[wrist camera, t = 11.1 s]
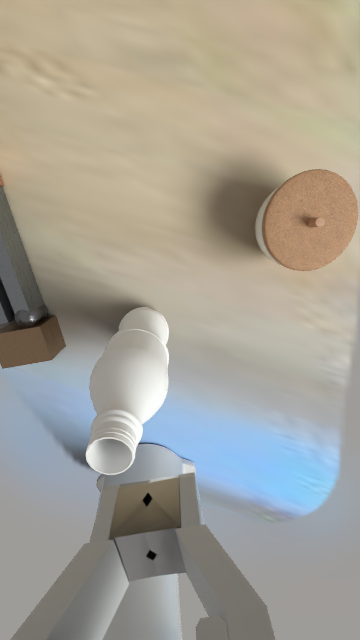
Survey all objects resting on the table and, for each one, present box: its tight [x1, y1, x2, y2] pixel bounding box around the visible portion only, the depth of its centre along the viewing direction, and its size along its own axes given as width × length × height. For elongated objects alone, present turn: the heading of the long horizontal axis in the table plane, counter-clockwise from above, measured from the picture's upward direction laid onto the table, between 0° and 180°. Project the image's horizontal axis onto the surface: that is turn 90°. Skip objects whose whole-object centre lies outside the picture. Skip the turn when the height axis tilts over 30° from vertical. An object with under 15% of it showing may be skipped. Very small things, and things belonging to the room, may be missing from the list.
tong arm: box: [0, 176, 48, 328], centre depth 33 cm, size 21×3×4 cm, turn 10°
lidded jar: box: [255, 169, 358, 271], centre depth 31 cm, size 11×11×9 cm
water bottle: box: [86, 307, 169, 475], centre depth 27 cm, size 7×7×25 cm
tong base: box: [0, 278, 66, 369], centre depth 34 cm, size 26×7×5 cm, turn 10°
